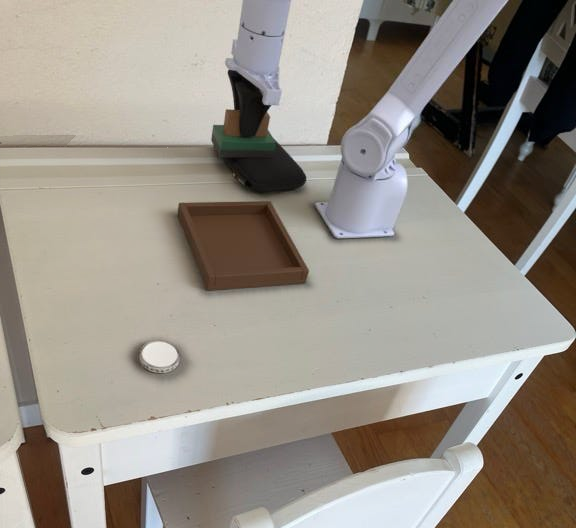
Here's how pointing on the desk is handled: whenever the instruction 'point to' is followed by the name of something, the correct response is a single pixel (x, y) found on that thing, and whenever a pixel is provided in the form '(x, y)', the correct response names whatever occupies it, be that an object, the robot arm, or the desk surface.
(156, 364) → the white bottle cap
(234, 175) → the carrying case
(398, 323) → the desk surface
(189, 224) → the tray
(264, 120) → the brush
